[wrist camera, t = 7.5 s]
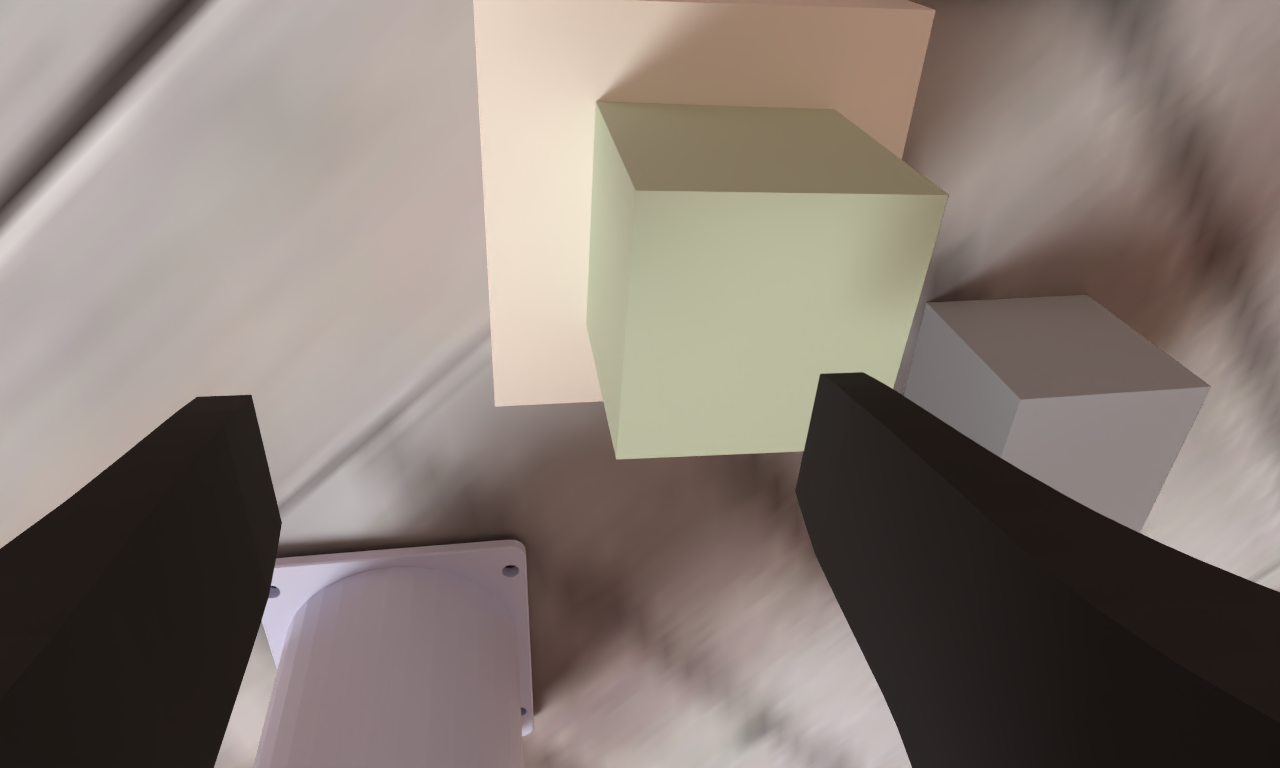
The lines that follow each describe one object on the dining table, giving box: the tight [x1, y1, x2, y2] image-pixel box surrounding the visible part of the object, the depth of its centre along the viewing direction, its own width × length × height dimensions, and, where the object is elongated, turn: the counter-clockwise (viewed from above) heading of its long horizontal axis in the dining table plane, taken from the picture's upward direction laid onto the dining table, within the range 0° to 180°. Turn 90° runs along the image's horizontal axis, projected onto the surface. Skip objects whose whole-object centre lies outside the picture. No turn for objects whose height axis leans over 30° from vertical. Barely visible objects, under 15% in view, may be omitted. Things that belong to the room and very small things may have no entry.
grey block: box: [903, 295, 1211, 533], centre depth 23 cm, size 5×5×5 cm
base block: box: [473, 0, 936, 407], centre depth 19 cm, size 9×9×3 cm
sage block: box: [586, 102, 949, 459], centre depth 16 cm, size 5×5×5 cm
